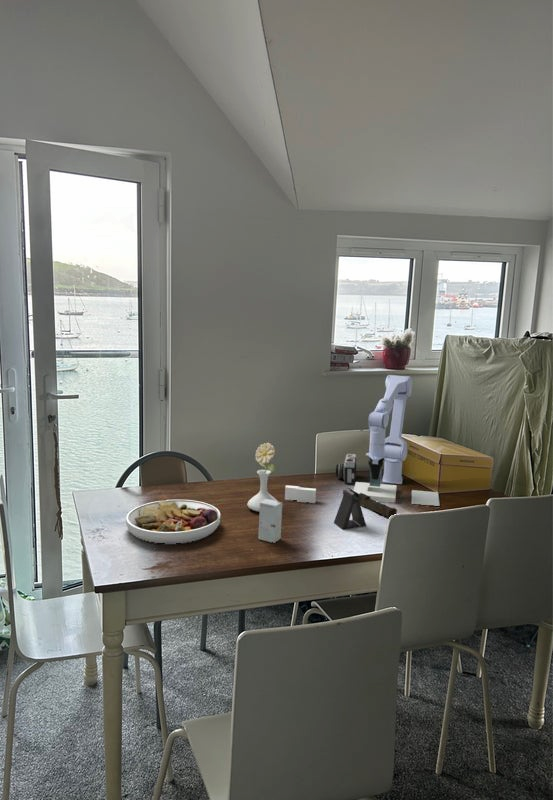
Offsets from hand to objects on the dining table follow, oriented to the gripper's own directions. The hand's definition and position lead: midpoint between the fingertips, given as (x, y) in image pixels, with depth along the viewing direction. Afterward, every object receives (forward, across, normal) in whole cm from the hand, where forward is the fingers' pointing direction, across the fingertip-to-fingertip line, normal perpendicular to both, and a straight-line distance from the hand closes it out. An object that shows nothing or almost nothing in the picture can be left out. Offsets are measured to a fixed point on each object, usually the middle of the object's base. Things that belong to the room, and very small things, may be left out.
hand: (375, 477), depth 234 cm
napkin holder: (+8, +14, -27) cm, 31 cm away
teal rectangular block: (+3, 0, 0) cm, 3 cm away
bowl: (+7, +53, -61) cm, 81 cm away
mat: (+7, 0, +19) cm, 20 cm away
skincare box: (+7, +53, -29) cm, 61 cm away
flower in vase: (+7, +28, -37) cm, 47 cm away
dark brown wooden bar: (+7, +18, +1) cm, 20 cm away
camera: (+7, -17, -13) cm, 22 cm away
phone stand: (+7, +34, -6) cm, 35 cm away
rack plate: (+7, 0, 0) cm, 7 cm away
